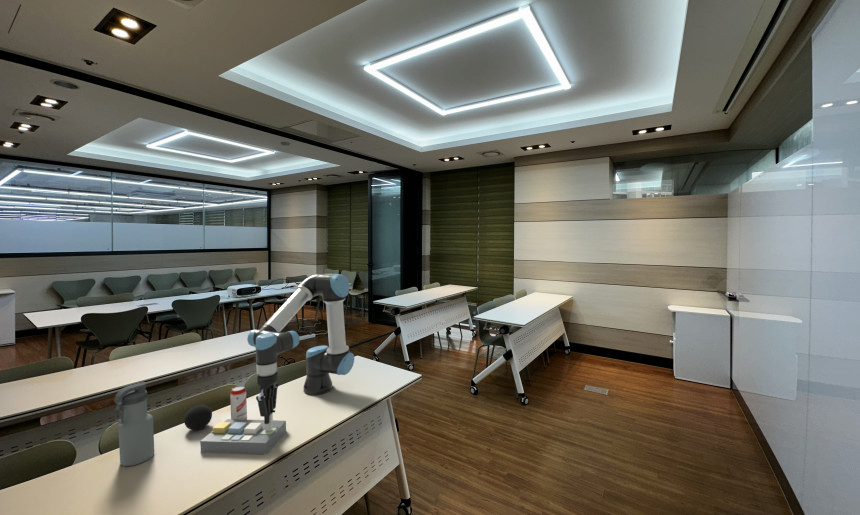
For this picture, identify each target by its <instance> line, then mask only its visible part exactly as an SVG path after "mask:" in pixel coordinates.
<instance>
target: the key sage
mask: <svg viewBox="0 0 860 515" xmlns="http://www.w3.org/2000/svg"><path fill="white" fill-rule="evenodd" d="M276 430H277V428H273V429H272V430H271V431H265V429H264V430H263V431H262V432H261V433H260V435H272V434H273V433H274V432H275V431H276Z"/></svg>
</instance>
